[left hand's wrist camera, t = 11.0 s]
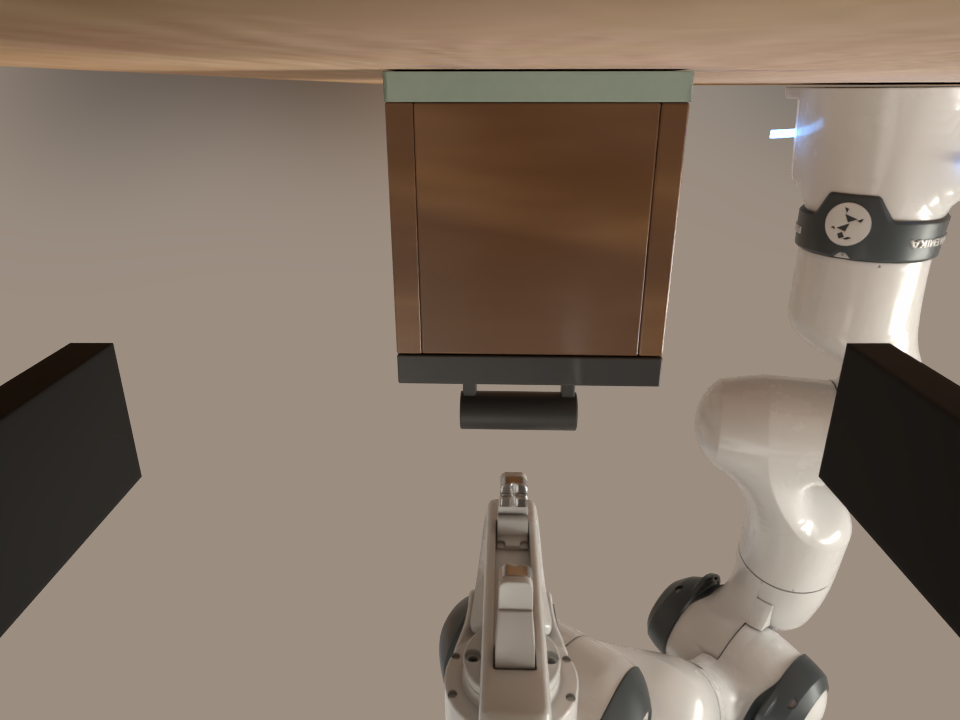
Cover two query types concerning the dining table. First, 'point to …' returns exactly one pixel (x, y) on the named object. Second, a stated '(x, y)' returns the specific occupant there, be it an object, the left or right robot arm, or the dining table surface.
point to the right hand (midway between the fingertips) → (514, 520)
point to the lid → (525, 370)
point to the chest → (534, 208)
